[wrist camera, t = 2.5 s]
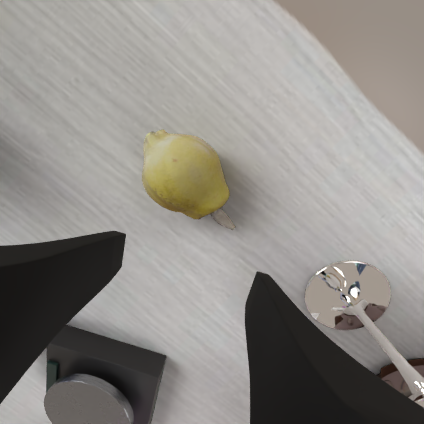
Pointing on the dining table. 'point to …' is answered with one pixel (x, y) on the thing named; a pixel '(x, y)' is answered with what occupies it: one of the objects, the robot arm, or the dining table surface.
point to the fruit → (185, 176)
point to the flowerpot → (400, 376)
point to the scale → (108, 366)
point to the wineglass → (358, 309)
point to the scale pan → (86, 402)
